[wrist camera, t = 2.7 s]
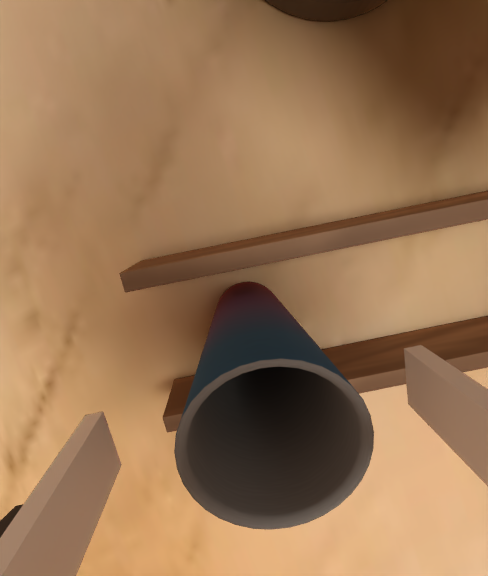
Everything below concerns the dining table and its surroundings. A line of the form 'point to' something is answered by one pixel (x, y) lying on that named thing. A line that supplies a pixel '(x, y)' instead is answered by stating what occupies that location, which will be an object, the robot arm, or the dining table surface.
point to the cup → (269, 419)
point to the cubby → (322, 238)
